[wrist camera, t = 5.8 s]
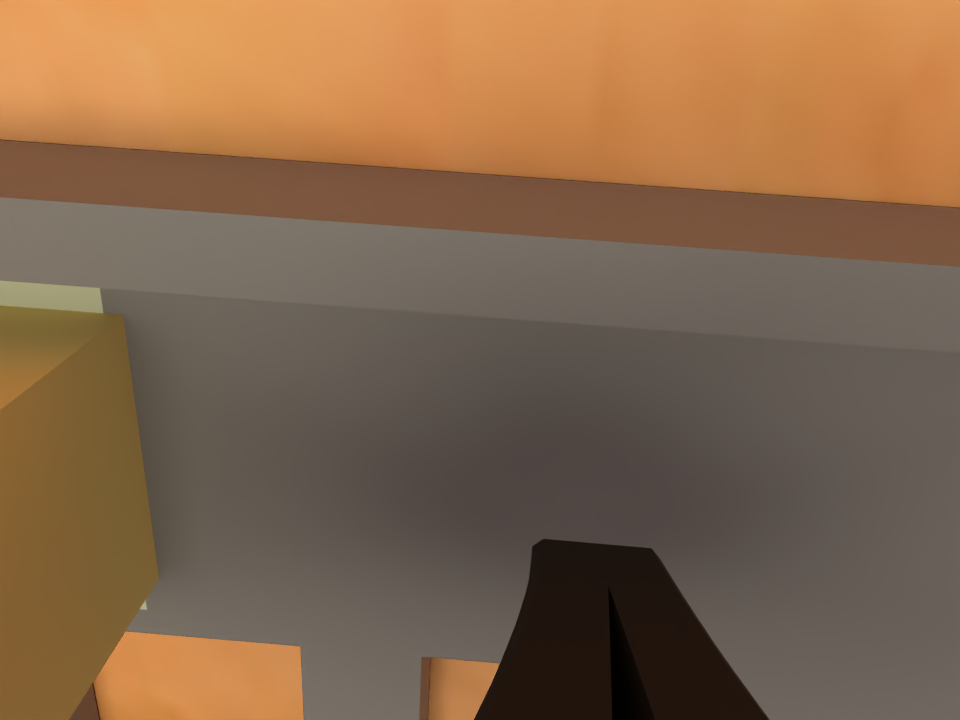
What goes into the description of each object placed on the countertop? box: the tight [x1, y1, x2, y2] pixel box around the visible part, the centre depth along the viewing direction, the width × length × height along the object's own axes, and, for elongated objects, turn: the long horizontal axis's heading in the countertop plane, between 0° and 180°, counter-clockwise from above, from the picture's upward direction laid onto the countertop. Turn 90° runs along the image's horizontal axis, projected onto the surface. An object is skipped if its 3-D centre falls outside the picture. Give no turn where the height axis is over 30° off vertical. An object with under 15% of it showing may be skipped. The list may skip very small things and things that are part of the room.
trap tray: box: [0, 140, 960, 720], centre depth 13 cm, size 20×14×3 cm
